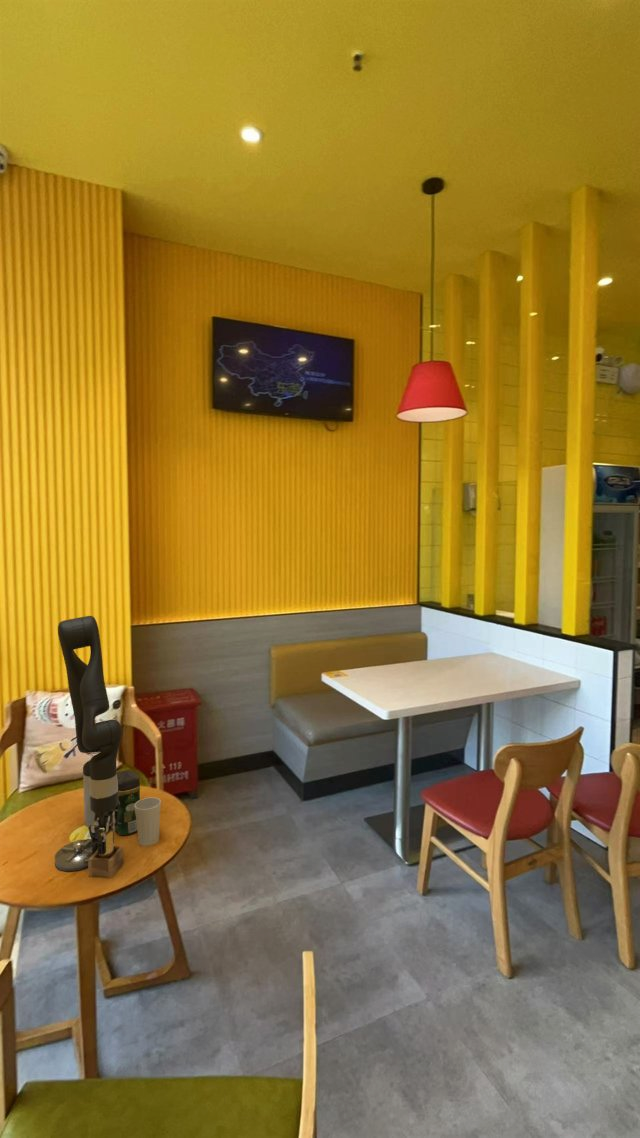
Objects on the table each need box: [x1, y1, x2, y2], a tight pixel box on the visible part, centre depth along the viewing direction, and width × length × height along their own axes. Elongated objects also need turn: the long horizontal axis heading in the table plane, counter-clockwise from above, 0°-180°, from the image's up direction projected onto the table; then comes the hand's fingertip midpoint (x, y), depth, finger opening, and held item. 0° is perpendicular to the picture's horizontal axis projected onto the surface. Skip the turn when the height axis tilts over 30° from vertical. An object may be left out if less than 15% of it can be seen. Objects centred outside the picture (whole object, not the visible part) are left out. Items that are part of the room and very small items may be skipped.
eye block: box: [87, 845, 125, 879], centre depth 153 cm, size 7×7×5 cm
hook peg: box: [99, 829, 114, 859], centre depth 153 cm, size 4×4×11 cm
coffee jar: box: [115, 769, 141, 836], centre depth 175 cm, size 10×8×19 cm
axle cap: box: [73, 839, 85, 852], centre depth 159 cm, size 3×3×2 cm
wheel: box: [54, 838, 97, 872], centre depth 159 cm, size 13×13×8 cm
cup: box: [134, 796, 162, 847], centre depth 168 cm, size 8×8×12 cm
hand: (105, 848), depth 153 cm, fingers closed on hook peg, 4 cm apart
